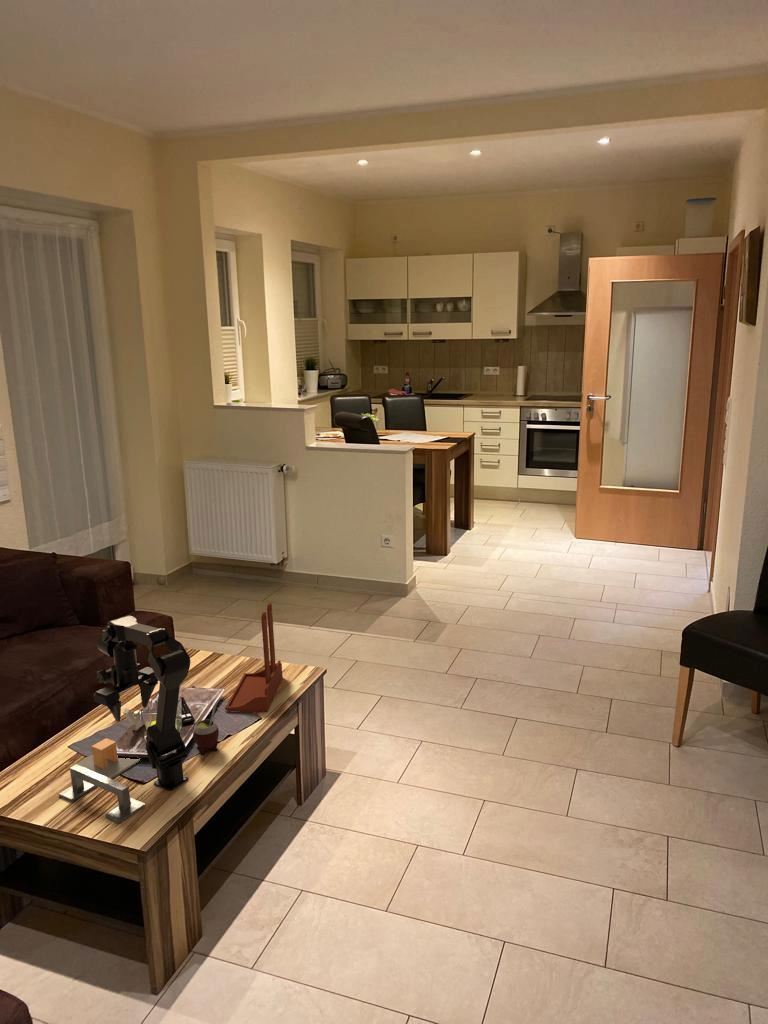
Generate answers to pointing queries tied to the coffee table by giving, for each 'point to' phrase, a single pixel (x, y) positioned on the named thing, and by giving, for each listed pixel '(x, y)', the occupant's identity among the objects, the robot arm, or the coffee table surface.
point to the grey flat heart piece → (132, 717)
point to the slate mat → (108, 766)
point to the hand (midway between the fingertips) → (131, 714)
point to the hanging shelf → (259, 677)
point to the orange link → (104, 752)
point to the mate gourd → (206, 734)
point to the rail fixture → (89, 780)
